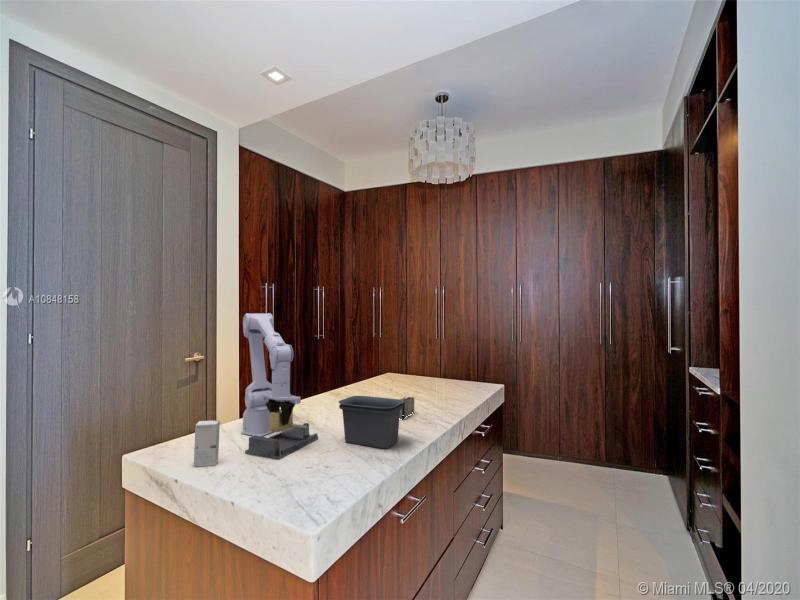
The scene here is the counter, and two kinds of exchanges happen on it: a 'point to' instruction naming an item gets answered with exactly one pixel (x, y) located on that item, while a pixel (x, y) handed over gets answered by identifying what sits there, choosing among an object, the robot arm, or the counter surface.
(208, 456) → the skincare box
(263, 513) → the counter surface
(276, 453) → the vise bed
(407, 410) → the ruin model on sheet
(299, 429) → the free jaw
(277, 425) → the brass block
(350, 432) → the storage bin
